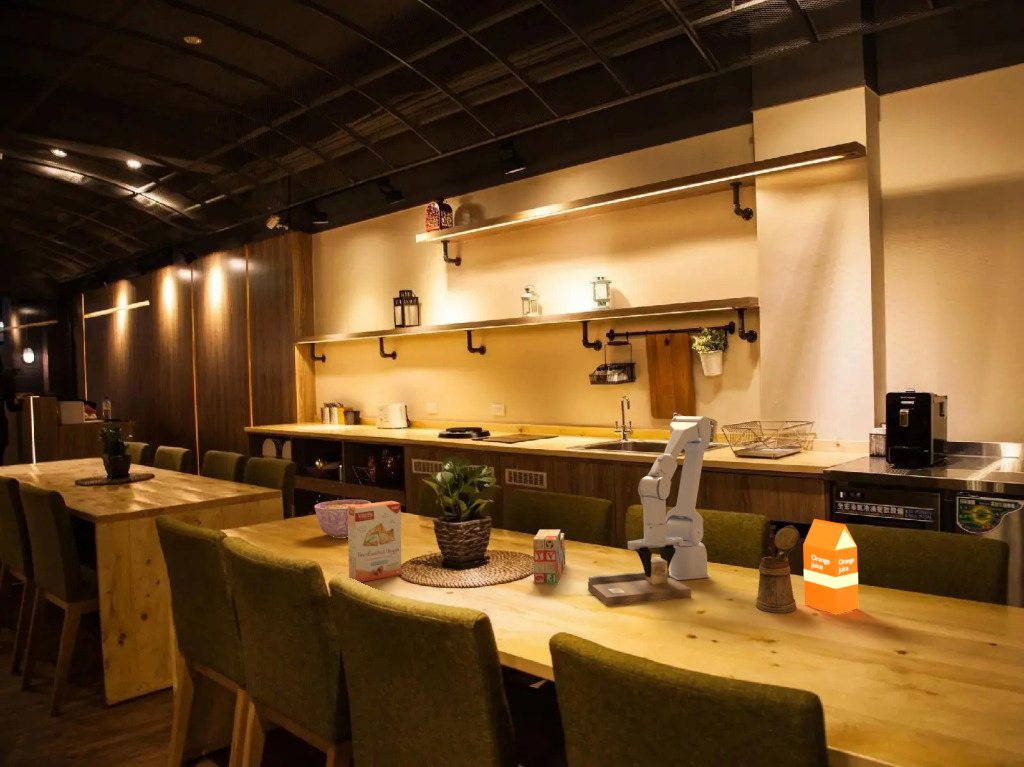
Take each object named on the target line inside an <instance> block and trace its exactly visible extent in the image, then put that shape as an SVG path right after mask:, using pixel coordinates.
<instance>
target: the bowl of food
mask: <svg viewBox="0 0 1024 767" xmlns="http://www.w3.org/2000/svg"><path fill="white" fill-rule="evenodd" d="M370 503H372V502H371V501H369V500H366V499H365V500H364V499H340V500H331V501H324V502H319V503H317V504H315V505H314V511H315V514H316V518H317V522H318V524H319V527H320V530H321V531H322V532H323V533H324V534H325V535H328V536H331V537H332V536H334V537H347V536H348V506H352V505H361V504H370Z"/></svg>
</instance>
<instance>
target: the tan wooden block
mask: <svg viewBox="0 0 1024 767" xmlns="http://www.w3.org/2000/svg"><path fill="white" fill-rule="evenodd" d="M645 579H646V580H648V581H649V582H651V583H652V584H660V583H668V573H667V561H666V560H664V559H662V558H661V556H651V577H647V576H645Z"/></svg>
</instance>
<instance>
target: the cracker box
mask: <svg viewBox="0 0 1024 767" xmlns="http://www.w3.org/2000/svg"><path fill="white" fill-rule="evenodd" d="M401 506H402V505H401V503H400V502H398V501H394V500H390V501H389V500H388V501H380V502H371V503H370V504H361V505H352V506H348V538H347V541H348V542H347V543H348V549H347V550H348V579H349V578H352V579H355V580H357V581H360V582H359V583H364V582H369V581H375V580H381V579H385V578H391V577H398V576H400V575H399V574H400V573H401V574H402V519H401V517H402V516H401V515H402V513H401V512H402V510H401Z"/></svg>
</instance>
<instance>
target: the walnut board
mask: <svg viewBox="0 0 1024 767" xmlns="http://www.w3.org/2000/svg"><path fill="white" fill-rule="evenodd" d="M669 571H670V569H668V583H660V584H652V583H651V582H649V581H648V580H646V579H645V572H644V571H635V572H626V573H624V572H623V573H614V574H604V575H591V576H588V581H587V589H588V591H589V592H590V593H592V594H593V595H594V596H595V597H597V599H599V600H600V601H601V602H603V603H604V604H605V605H606V606H616V605H617V606H618V605H626V604H634V603H635V604H637V603H646V602H654V601H655V602H656V601H657V602H658V601H664V600H665V601H667V600H675V599H686V598H692V588H690V587H688V586H686V585H685V584H683V583H682V582H680V581H679V580H676V579H674V578H672V577H671V576H669Z"/></svg>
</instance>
